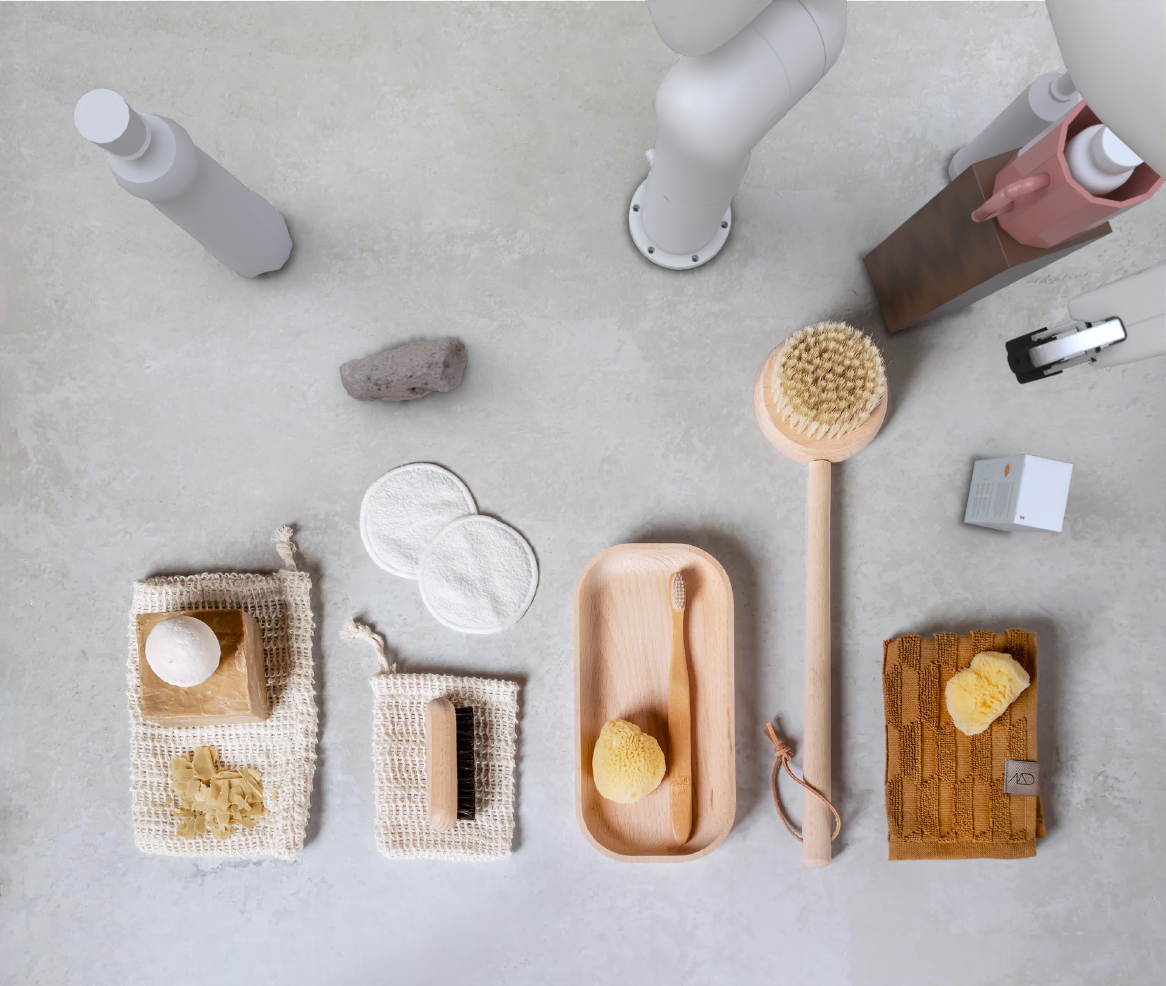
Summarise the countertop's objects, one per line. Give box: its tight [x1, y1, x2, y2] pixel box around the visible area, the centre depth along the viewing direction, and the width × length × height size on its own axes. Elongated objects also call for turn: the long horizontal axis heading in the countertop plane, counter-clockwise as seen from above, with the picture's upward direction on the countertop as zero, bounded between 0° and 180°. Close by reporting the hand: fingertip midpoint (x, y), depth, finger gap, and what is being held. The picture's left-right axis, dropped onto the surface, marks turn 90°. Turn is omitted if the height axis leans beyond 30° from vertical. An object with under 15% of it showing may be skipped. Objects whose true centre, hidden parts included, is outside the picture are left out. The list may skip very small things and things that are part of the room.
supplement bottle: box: [1063, 124, 1144, 198], centre depth 60 cm, size 5×5×10 cm
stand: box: [862, 146, 1113, 334], centre depth 78 cm, size 10×10×25 cm
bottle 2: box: [947, 70, 1079, 182], centre depth 78 cm, size 5×5×25 cm
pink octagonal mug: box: [971, 98, 1166, 249], centre depth 61 cm, size 9×12×9 cm
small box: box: [963, 453, 1075, 534], centre depth 85 cm, size 8×6×10 cm
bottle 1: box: [73, 88, 294, 279], centre depth 75 cm, size 9×9×30 cm
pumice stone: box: [339, 336, 468, 402], centre depth 85 cm, size 15×8×10 cm, turn 95°
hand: (1079, 340), depth 52 cm, fingers open, 9 cm apart
